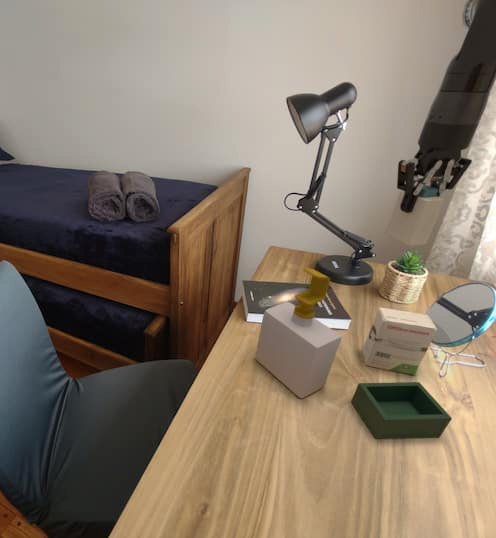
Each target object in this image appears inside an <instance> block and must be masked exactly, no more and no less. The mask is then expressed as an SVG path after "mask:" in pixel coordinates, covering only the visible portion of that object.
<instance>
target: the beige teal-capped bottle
mask: <svg viewBox="0 0 496 538" xmlns="http://www.w3.org/2000/svg"><path fill="white" fill-rule="evenodd" d="M416 185H417V184H414V186H413V187H414V188H415V186H416ZM437 191H438V189H436V188H433V187H430V186H429V185H428V184H425V185H424V186H423V188H422V189H421V191H420V193H419V194H418V195H419V196H418V198H417V201H416V203H415V206H414V208H413V211H412V212H411V213H406V212H403V211H401V209H400V205H401V202H402V199H403V197H404V194H405V192H404V191H402V190H399V192H398V195H397V198H396V200H395V204H394V206H393V209H392V211H391V214H390V217H389V220H388V223H387V226H386V228H385V231H384V234H385V235H388V236H389V237H391V238H393V239H395V240H396V241H398V242H401V243H403V244H405V245H406V246H407V247H410V246H411V247H413V246H422V245H423V246H424V245H427V243H428V241H429V239H430V236H431V234H432V232H433V229H434V227H435V225H436V222H437V220H438V217H439V216H440V213H441V211H442V209H443V206H444V205H445V201H446V198H443V197H441V196H439V197H437V196H436V194H437Z"/></svg>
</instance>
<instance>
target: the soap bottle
mask: <svg viewBox="0 0 496 538" xmlns="http://www.w3.org/2000/svg"><path fill="white" fill-rule="evenodd" d="M302 271H303V272H304V273H306V274H309V275H310V276H311V279H310V283H309V287H308V288H307V289H306V290H304V291H302V292H299V293H297V294H295V295H294V298H295V300H298V305H295V304H294V303H292V302H289V301H285V302H282V303H280V304H277V305H274V306H272V307H269V308H267V309H265V310H264V312H263V316H262V320H261V321H262V322H261V325H260V331H259V334H258V339H257V345H256V350H255V355H254V358H255V360H256V361H257V362H258V363H259V364H261V365H262V366H263V367H264V368H265V369H266V370H267V371H268V372H269V373H270V374H272V375H273V376H274V377H275V378H276V379H277V380H279V382H281V383H282V385H284V386H285V387H287V388H288V390H289V391H291V392H292V393H293V394H295V396H297V397H298V398H300V399H304V398H306V397H307V396H309V395H311V394H313V393H315V392H317V391H318V390H321V389H322V388H323V387H325V385H326V383H327V380H328V377H329V375H330V372H331V369H332V367H333V363H334V361H335V358H336V355H337V352H338V349H339V347H340V344H341V340H342V336H341V335H340V334H339V333H338V332H336V331H335V330H333V329H332V328H330V327H329V326H327V325H325V324H324V323H323V322H322V321H320V320H318V319H317V318H315V315H316V311H315V309H314V308H315V306H316V304H317V303H320V302H322V301H324V299H325V298H326V296H327V293H328V290H329V286H330V284H331V278H330V277H329V276H327V275H326V274H323V273H321V272H320V271H318V270H315V269H314V268H303V269H302Z"/></svg>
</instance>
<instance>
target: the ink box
mask: <svg viewBox="0 0 496 538" xmlns="http://www.w3.org/2000/svg"><path fill="white" fill-rule="evenodd" d="M437 332H438V328H437V327H436V324H435V323H434V321H433V319H432V318H431V316H430V315H429V314H424V313H418V312H411V311H405V310H399V309H394V308H393V309H392V308H387V307H380V306H379V307H378V309H377V312H376V315H375V317H374V319H373V322H372V324H371V327H370V330H369V332H368V335H367V338H366V340H365V342H364V345H363V347H362V350H361V353H362V354H361V355H362V358H363V362H364V365H365V366H367V367H370V368H371V367H373V368H376V369H381V370H387V371H392V372H396V373H402V374H407V375H412V376H415V375H416V374H417V371H418V369H419V367H420V365H421V363H422V361H423V359H424V357H425V356H426V353H427V351H428V349H429V348H430V345H431V344H432V341H433V339H434V338H435V335H436V334H437Z"/></svg>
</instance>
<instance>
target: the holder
mask: <svg viewBox="0 0 496 538" xmlns="http://www.w3.org/2000/svg"><path fill="white" fill-rule="evenodd" d="M350 403H351V404H352V405H353V407H354V409H355V410H356V412H357V413H358V415H359V416H360V418H361V419H362V421H363V423H364V424H365V425H366V427H367V428H368V430H369V432H370V433H371V435H372V436H373V438H374V439H375V440H381V439H382V440H384V439H385V440H388V439H426V438H427V439H432V438H433V439H434V438H440V437H441V436H442V435H443V433H444V432H445V430H446V429H447V427H448V425H449V423H450V422H451V421H452V419H453V417H451V415H450V414H449V413H448V412H447V411H446V410H445V409H444V408H443V407H442V405H441V404H440V403H439V402H438V401H437V400H436V399H435V398H434V397H433V395H432V394H431V393H430V392H429V391H428V390H427V389H426V388H425V387H424V386H423V384H422V383H421V382H419V381H407V382H406V381H402V382H401V381H399V382H397V381H395V382H358V384H357V386H356V389H355V391H354V394H353V396H352V398H351V401H350Z"/></svg>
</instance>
